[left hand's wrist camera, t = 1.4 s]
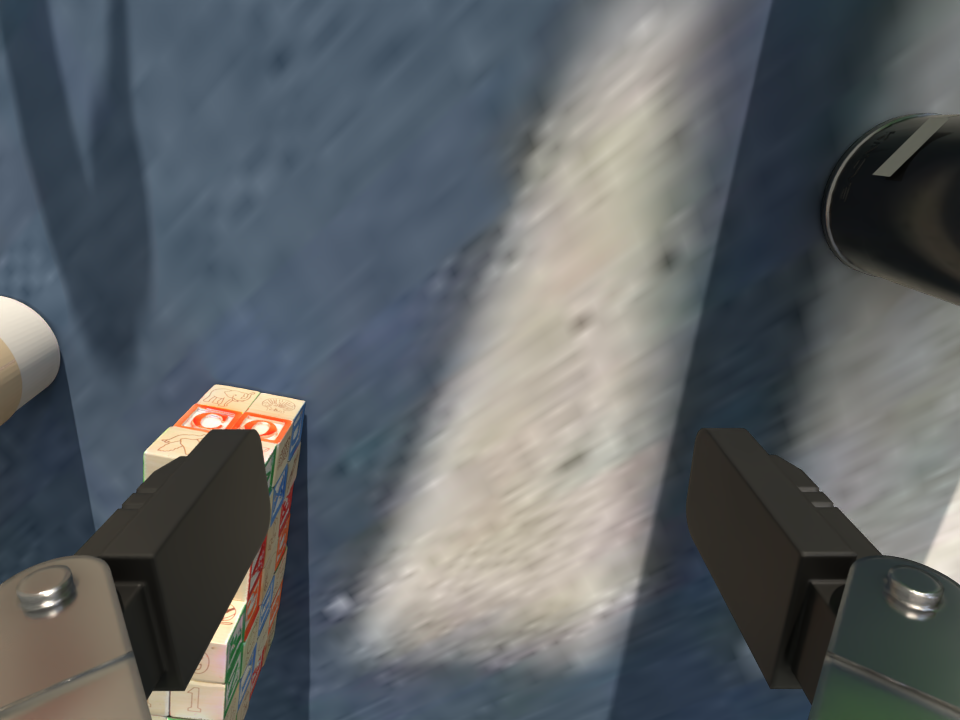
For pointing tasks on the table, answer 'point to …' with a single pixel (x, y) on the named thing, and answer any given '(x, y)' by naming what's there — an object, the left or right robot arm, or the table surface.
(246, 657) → the stack of blocks
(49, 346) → the coffee cup
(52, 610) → the left robot arm
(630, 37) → the table surface
